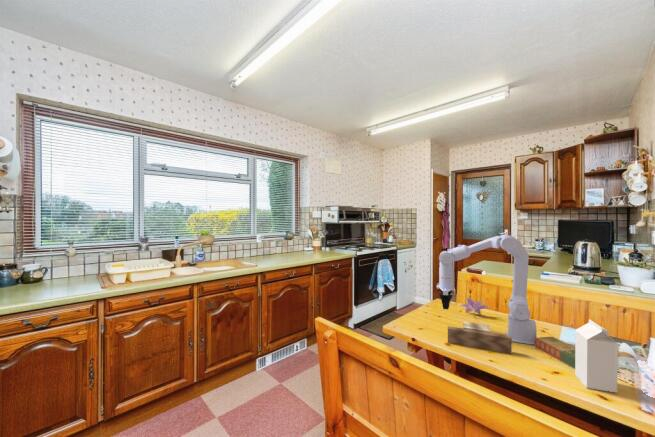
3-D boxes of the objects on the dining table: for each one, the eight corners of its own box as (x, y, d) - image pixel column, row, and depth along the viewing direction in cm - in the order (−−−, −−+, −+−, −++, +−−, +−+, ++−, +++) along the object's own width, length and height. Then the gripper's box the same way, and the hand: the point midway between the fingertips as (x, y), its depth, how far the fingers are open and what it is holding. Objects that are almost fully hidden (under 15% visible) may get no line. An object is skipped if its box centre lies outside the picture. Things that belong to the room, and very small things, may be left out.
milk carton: (586, 388, 82) (587, 326, 81) (574, 375, 88) (575, 317, 88) (617, 393, 79) (618, 329, 79) (603, 379, 86) (603, 320, 85)
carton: (552, 346, 108) (552, 335, 108) (597, 369, 92) (598, 357, 92) (534, 347, 107) (534, 337, 107) (576, 371, 91) (576, 358, 91)
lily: (493, 320, 136) (490, 301, 140) (482, 316, 130) (479, 296, 134) (469, 321, 144) (466, 302, 149) (457, 317, 138) (455, 298, 143)
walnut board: (510, 351, 104) (510, 335, 104) (511, 354, 102) (511, 338, 101) (447, 340, 113) (447, 326, 113) (447, 342, 111) (447, 328, 111)
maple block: (488, 336, 117) (488, 325, 117) (490, 343, 110) (490, 331, 110) (463, 332, 121) (463, 321, 121) (463, 338, 115) (463, 327, 115)
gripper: (437, 273, 133) (437, 300, 133) (435, 280, 120) (435, 310, 120) (453, 274, 130) (453, 302, 130) (453, 281, 117) (453, 312, 117)
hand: (446, 306), depth 125 cm, fingers open, 7 cm apart
